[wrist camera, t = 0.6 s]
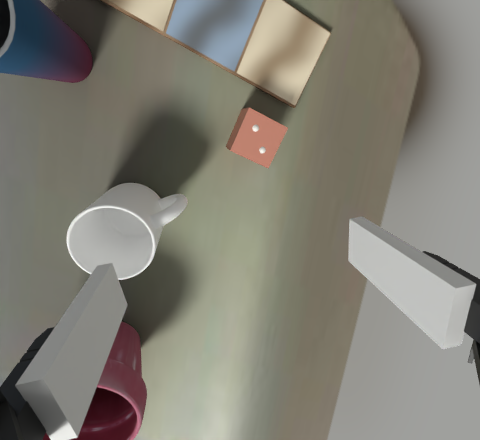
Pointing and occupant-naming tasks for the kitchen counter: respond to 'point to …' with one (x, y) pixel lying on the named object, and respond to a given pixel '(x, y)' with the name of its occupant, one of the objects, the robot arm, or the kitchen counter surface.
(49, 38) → the cup
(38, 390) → the robot arm
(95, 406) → the plant pot
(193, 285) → the kitchen counter surface
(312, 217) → the kitchen counter surface
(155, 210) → the mug
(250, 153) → the die
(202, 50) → the multicoloured flat piece
